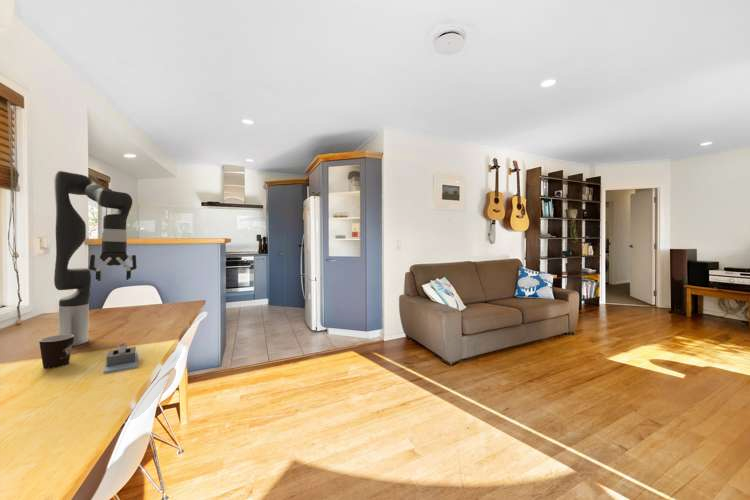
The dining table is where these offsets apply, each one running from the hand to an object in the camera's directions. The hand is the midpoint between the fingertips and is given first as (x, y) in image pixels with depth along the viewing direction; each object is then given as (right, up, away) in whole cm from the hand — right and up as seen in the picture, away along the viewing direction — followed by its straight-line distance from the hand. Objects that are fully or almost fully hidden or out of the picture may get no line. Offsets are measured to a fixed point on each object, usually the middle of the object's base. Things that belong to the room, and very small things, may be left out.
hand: (113, 280), depth 119 cm
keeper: (+10, -31, -8) cm, 33 cm away
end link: (+8, -30, -6) cm, 31 cm away
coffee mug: (-10, -30, -10) cm, 33 cm away
